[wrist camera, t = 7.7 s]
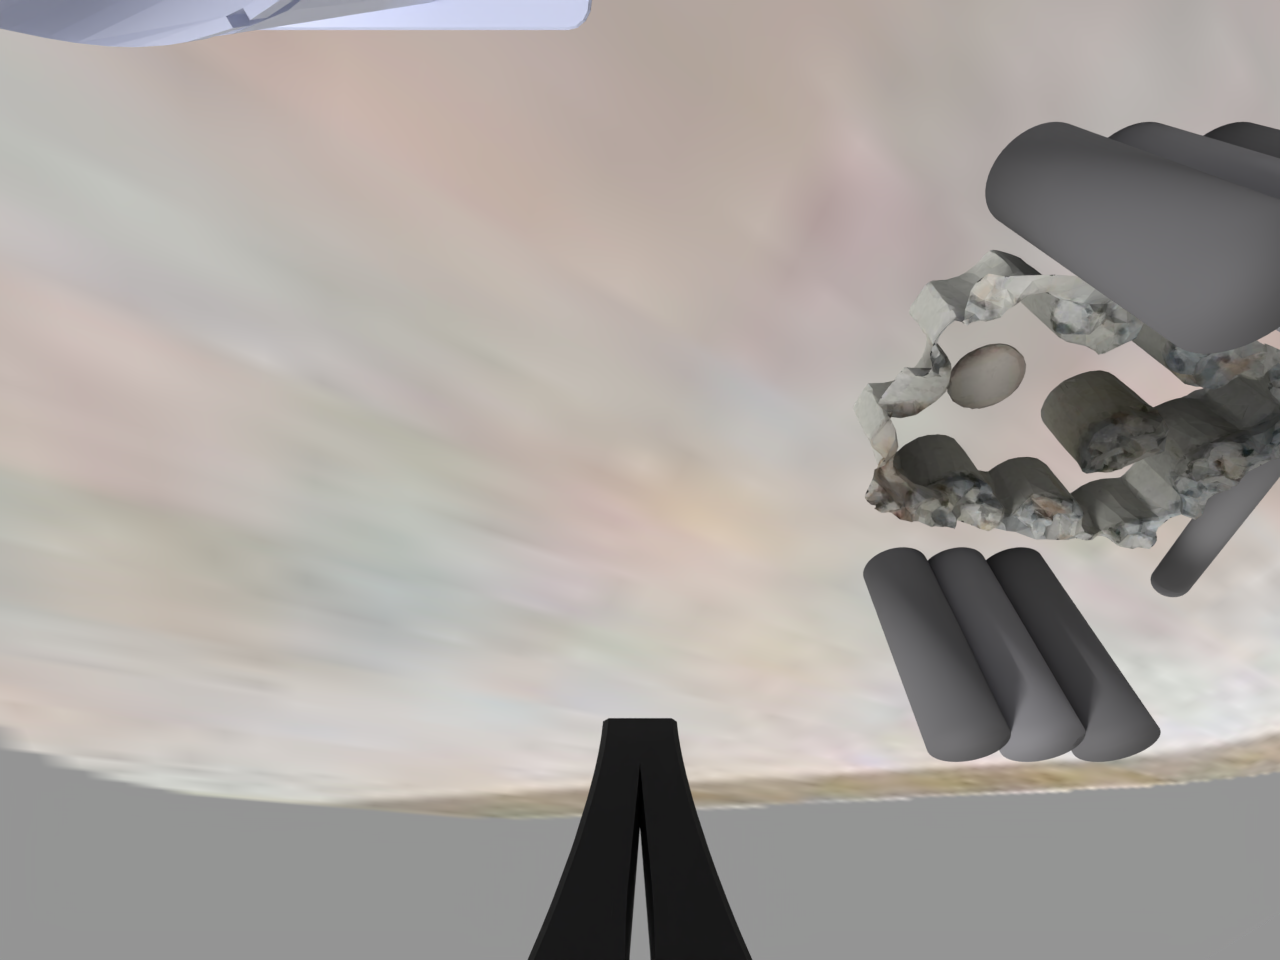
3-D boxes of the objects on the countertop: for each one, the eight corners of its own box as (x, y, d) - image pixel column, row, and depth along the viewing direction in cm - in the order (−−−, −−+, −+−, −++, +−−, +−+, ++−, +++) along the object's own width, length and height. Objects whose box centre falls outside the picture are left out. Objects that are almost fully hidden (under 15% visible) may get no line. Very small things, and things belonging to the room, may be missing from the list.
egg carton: (819, 430, 21) (849, 513, 18) (963, 203, 16) (1038, 259, 13) (1081, 512, 23) (1151, 600, 20) (1271, 331, 19) (1401, 406, 15)
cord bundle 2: (1005, 121, 15) (1214, 208, 10) (1294, 121, 15) (1668, 208, 10) (972, 226, 17) (1136, 353, 11) (1235, 226, 17) (1529, 354, 11)
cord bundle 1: (870, 547, 24) (939, 720, 18) (1053, 547, 24) (1176, 719, 18) (857, 590, 25) (916, 762, 20) (1028, 590, 25) (1135, 762, 20)
